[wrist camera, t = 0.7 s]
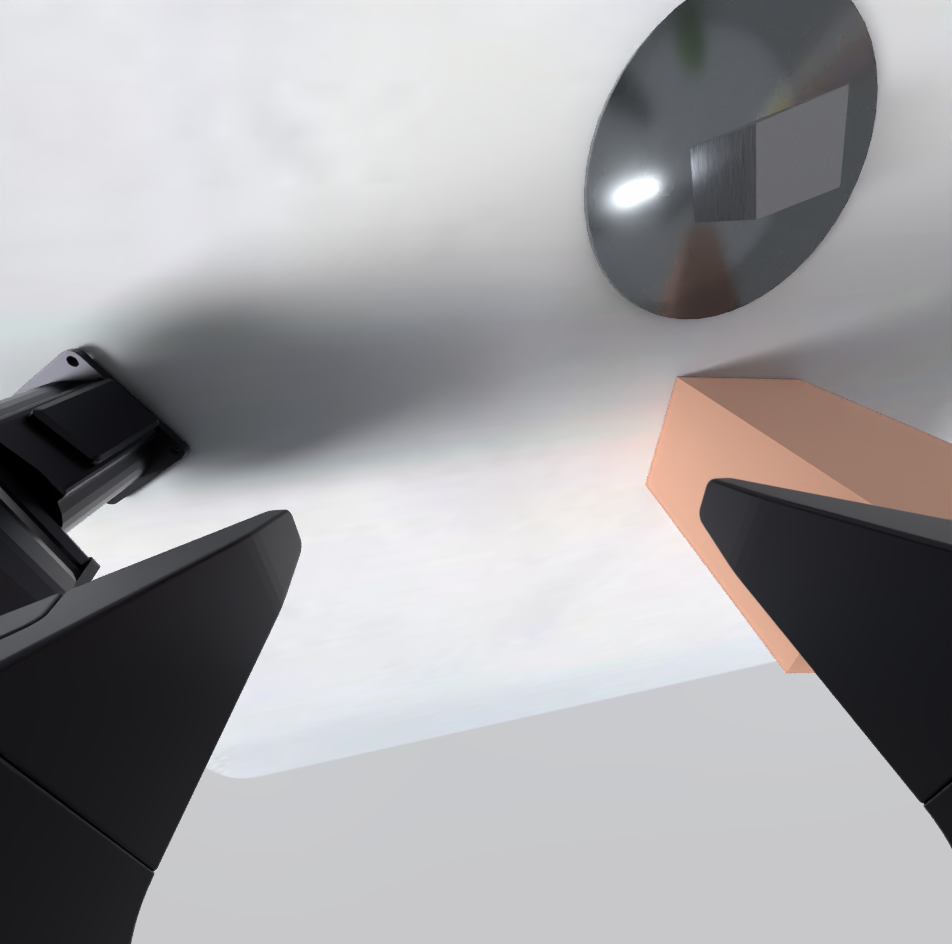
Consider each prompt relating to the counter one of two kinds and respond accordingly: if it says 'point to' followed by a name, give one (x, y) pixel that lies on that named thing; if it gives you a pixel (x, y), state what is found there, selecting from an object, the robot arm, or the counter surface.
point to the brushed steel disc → (728, 150)
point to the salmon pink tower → (787, 465)
